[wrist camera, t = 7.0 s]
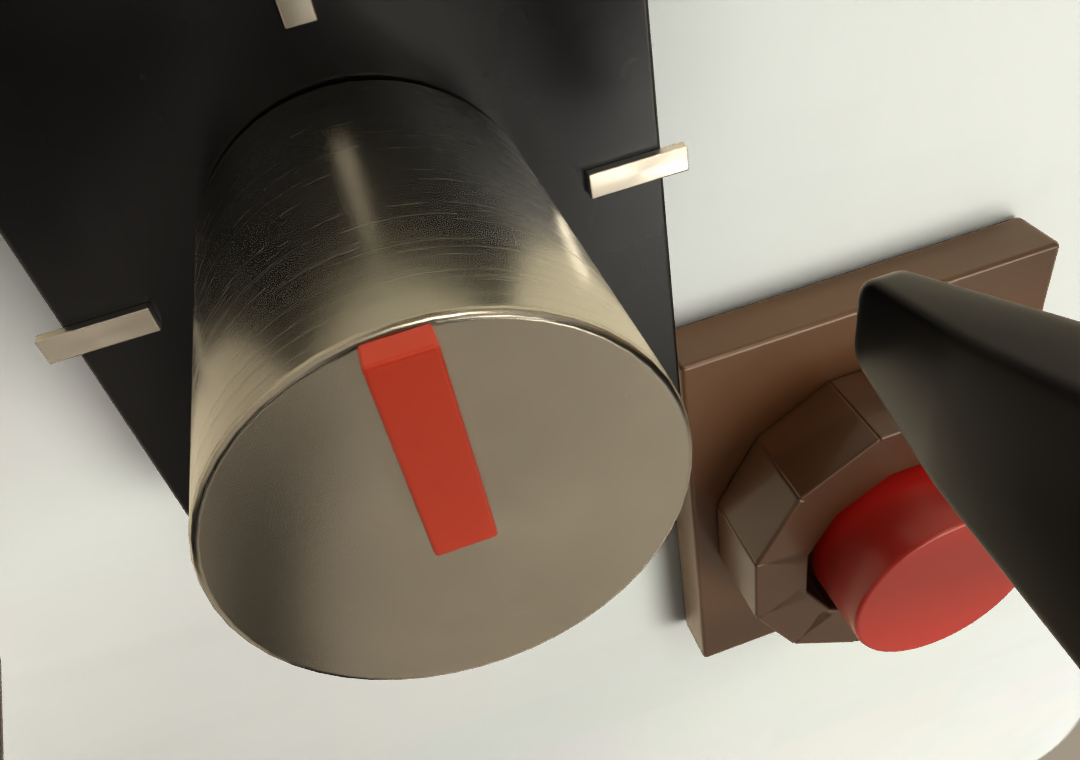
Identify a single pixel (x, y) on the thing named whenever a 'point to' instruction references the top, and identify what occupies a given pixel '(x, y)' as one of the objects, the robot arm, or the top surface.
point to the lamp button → (906, 566)
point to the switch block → (803, 435)
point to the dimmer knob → (412, 395)
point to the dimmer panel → (251, 92)
